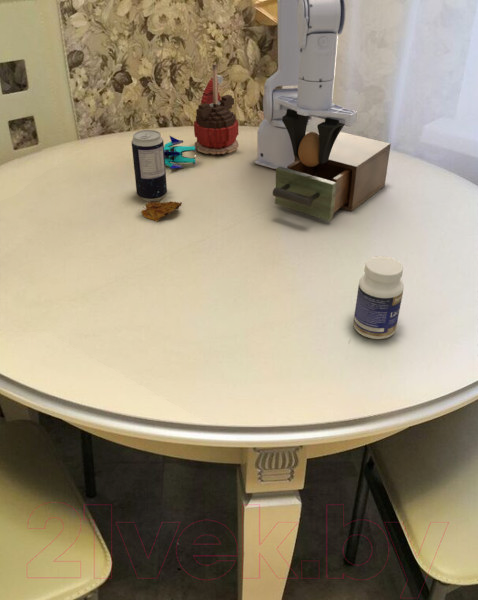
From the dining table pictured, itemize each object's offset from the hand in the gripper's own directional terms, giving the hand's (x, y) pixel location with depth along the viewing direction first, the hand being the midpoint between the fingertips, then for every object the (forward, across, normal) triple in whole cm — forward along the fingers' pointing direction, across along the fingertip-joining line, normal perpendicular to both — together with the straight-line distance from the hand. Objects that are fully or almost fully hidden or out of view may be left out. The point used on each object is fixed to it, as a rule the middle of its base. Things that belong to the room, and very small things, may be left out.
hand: (310, 158), depth 106 cm
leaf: (+10, -21, -16) cm, 28 cm away
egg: (+2, 0, 0) cm, 2 cm away
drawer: (+9, 0, +1) cm, 9 cm away
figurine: (+10, -34, 0) cm, 35 cm away
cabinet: (+10, 0, +11) cm, 15 cm away
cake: (+10, -32, +14) cm, 36 cm away
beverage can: (+10, -27, -12) cm, 31 cm away
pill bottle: (+10, +25, -24) cm, 37 cm away
